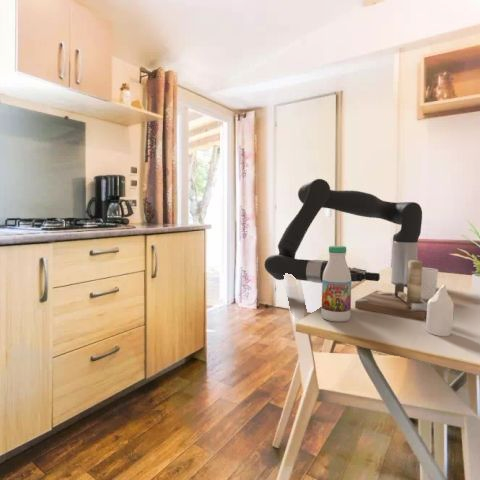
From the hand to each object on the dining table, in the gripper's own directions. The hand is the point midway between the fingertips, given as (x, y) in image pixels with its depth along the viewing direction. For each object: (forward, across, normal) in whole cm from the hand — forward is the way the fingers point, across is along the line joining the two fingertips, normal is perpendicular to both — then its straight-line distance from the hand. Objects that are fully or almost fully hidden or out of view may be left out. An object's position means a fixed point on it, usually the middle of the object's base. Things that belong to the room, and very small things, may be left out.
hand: (379, 277), depth 103 cm
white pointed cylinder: (+16, -13, +10) cm, 23 cm away
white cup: (+10, +23, +10) cm, 27 cm away
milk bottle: (-8, -16, +10) cm, 20 cm away
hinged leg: (+7, +5, +7) cm, 11 cm away
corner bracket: (+10, -1, +8) cm, 13 cm away
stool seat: (+4, +6, +10) cm, 12 cm away
